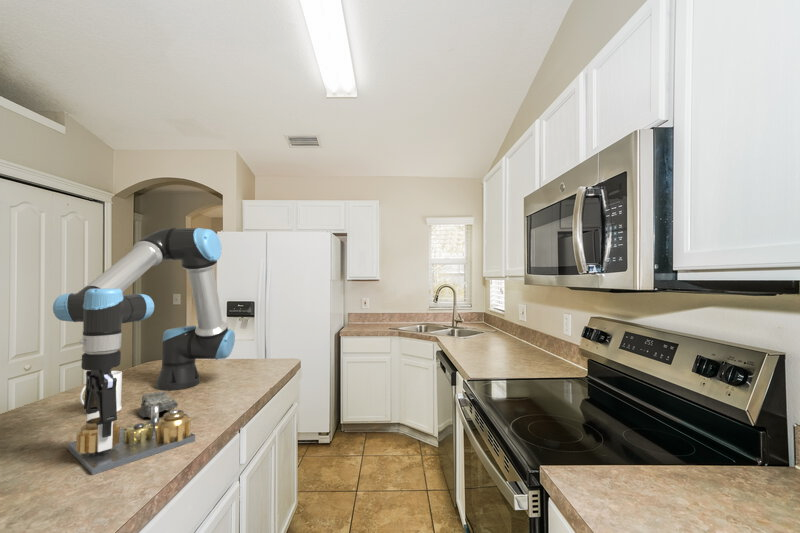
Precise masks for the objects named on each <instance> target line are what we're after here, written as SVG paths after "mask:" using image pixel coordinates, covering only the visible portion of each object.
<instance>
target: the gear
mask: <svg viewBox="0 0 800 533" xmlns="http://www.w3.org/2000/svg"><path fill="white" fill-rule="evenodd" d="M108 417H110V416H108ZM97 422H100V417H97V418H93V419H90V420H88V421H87V422H85V424H83V426H81V427H80V430H77V431H76V439H75V441H76V452H80V453H86V452H89V453H95V452H96V451H97V440H98V425H96V423H97ZM120 429H121V426H120V423H117V420H115V421H113V437H112V447H114V446H115V444H118V443H119V434H120Z"/></svg>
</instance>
